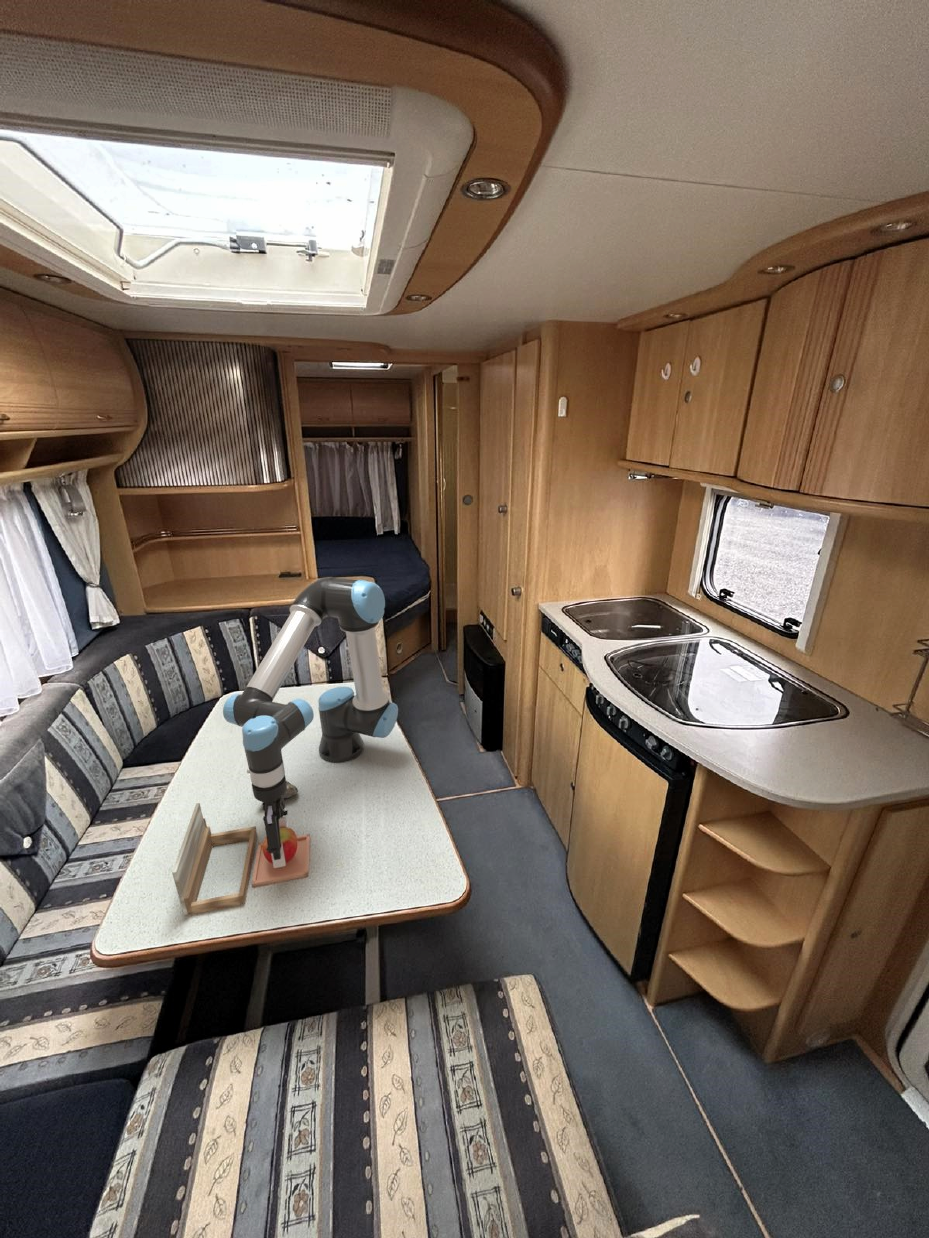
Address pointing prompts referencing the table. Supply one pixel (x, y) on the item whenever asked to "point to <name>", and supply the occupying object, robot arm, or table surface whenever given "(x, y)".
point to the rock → (290, 790)
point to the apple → (287, 841)
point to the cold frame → (196, 859)
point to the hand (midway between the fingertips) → (281, 851)
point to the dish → (292, 870)
